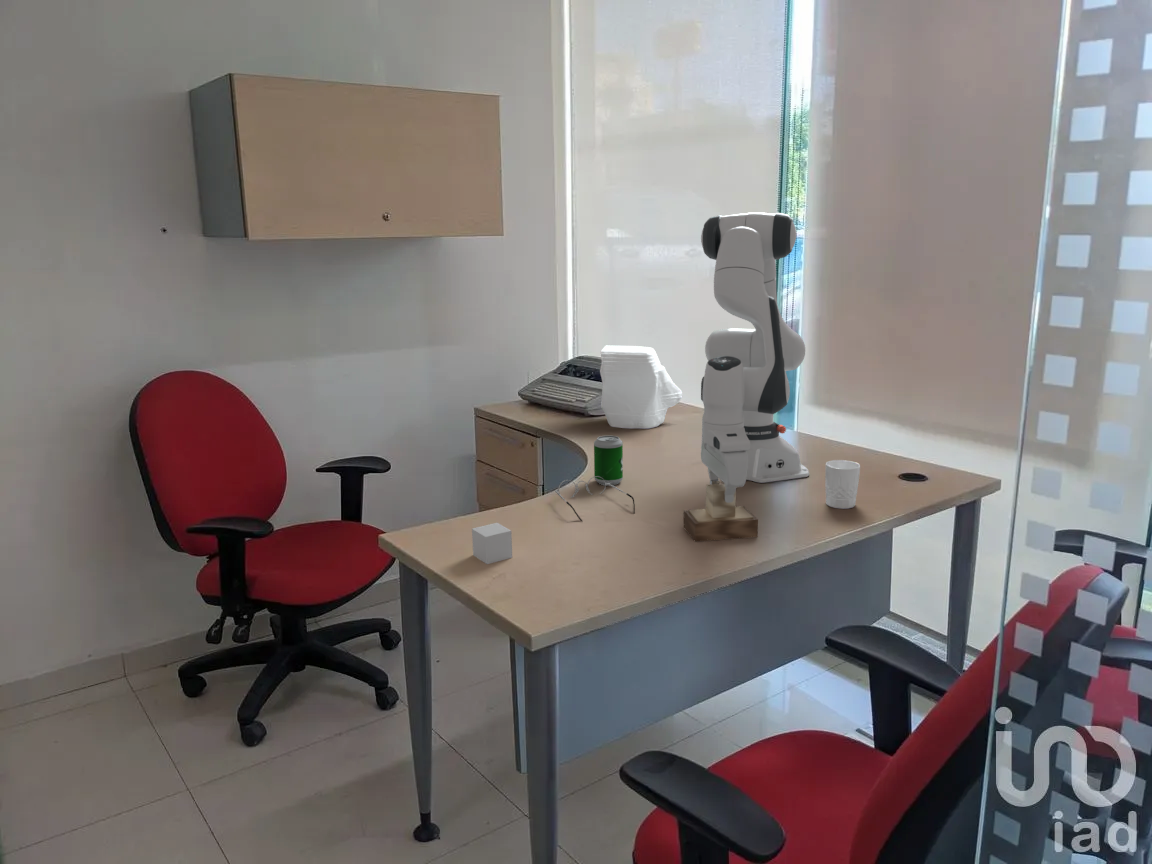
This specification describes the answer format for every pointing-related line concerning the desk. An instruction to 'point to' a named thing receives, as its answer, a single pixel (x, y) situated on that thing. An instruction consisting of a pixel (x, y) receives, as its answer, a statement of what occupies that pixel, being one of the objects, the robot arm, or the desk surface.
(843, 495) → the white cup
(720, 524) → the plinth
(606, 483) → the eyeglasses
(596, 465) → the soda can
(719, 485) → the block
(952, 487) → the desk surface
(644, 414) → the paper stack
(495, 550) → the grey cube
